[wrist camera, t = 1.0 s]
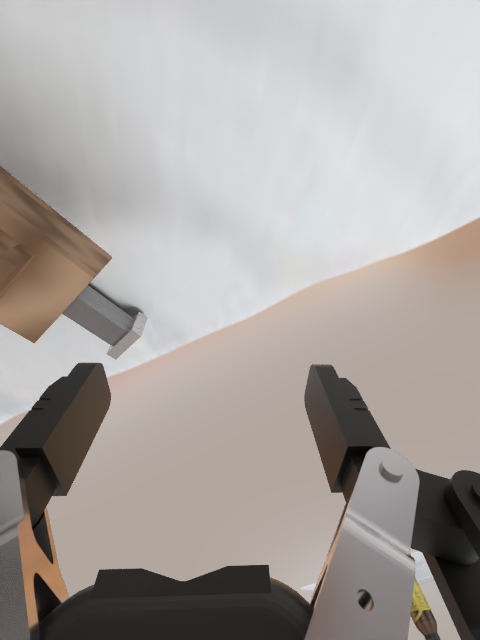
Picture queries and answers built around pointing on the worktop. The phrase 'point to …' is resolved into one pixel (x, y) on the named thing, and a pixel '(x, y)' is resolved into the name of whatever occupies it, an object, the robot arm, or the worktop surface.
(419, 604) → the sauce bottle
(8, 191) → the socket block
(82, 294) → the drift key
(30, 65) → the worktop surface
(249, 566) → the robot arm
